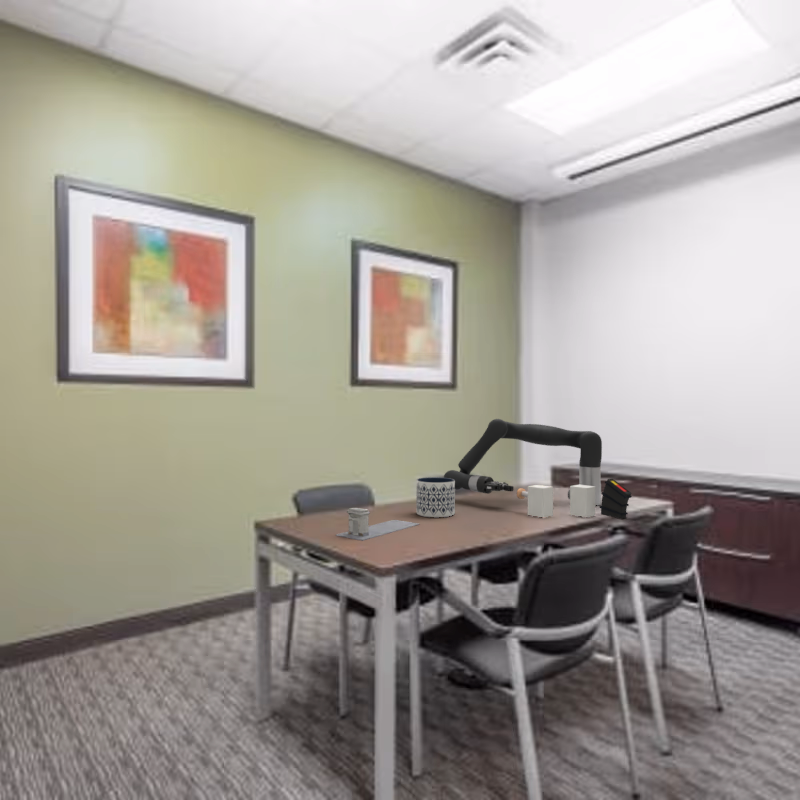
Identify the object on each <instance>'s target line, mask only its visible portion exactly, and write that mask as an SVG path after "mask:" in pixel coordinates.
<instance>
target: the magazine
mask: <svg viewBox="0 0 800 800" xmlns="http://www.w3.org/2000/svg"><path fill="white" fill-rule="evenodd" d="M604 484H605V485H604V488H603V491H601V504H600V505H599V509H600V514H601V515H603V516H608V517H612V518H617V519H626V518H627V515H628V514H629V512H628V511H627V510H628V509H627V508H628V507H629V503H628V502H629V500H630V499H631V498H632V492H631V491H630V490H628V489H627V488H625V487H624V486H623V485H622V484H620V483H619V482H617V481H616V480H615V479H613V478H607V480H605V481H604Z"/></svg>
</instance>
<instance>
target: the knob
mask: <svg viewBox="0 0 800 800" xmlns="http://www.w3.org/2000/svg"><path fill="white" fill-rule="evenodd" d="M516 497H517V498H518V499H519V500H524V499H526V498H528V490H526V489H525V488H522V487H521V488H518V489H517V490H516Z"/></svg>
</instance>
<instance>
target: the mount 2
mask: <svg viewBox="0 0 800 800" xmlns="http://www.w3.org/2000/svg"><path fill="white" fill-rule="evenodd" d="M569 490H570V499H569V516H572V515H575V516H574V517H578V516H582V517H581V518H584V517H588V518H591V517H590V516H592V517H595V516H596V506H595V486H587V485H579V484H574V485H570V486H569ZM594 515H595V516H594Z"/></svg>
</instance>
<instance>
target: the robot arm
mask: <svg viewBox="0 0 800 800" xmlns="http://www.w3.org/2000/svg"><path fill="white" fill-rule="evenodd" d="M500 439H509V440H518V441H522V442H525V443H526V442H527V443H528V444H529V443H530V444H533V445H541V446H550V447H551V446H552V447H559V446H561V447H564V446H565V447H573V448H577V449H580V456H579V457H580V458H579V467H578V468H579V469H578V470H579V473H578V474H579V481H578V482H579V484H578V485H587V486H595V507H596V505H597V506H600V505H601V502H602V494H601V493H602V483H601V479H602V478H601V475H602V474H601V471H602V470H601V465H602V464H601V463H602V457H603V456H602V453H603V451H602V450H603V441H602V437H601V436H600V435H599V434H598V433H597V432H595V431H592V430H583V431H582V430H569V429H565V428H561V427H557V426H551V425H547V424H539V423H538V424H537V423H521V424H520V423H515V422H509V421H505V420H503V419H500V418H495V419H492V420H491V421H489V423H488V424H487V427H486V429H485V431H484V432H483V434H482V436H481V437H480V438H479V439H478V441H477V442H476V443H475V444H473V446H472V447H471V448H470V449H469V451H468V452H467V453H466V454H465V455H464V456H463V457H462V458H461V460H460V461H459V462H458V464H457V467H458V468H459V471H458V470H454V469H451V470H447V471H446V472H444V475H443V478H450V479H454V480H455V491H456V490H460V489H464V490H467V491H472V492H476V493H482V494H491V493H492V492H504V491H505V492H514V491H515V490H514V486H513V485H509V483H507V482H506V481H505V482H501V481H497V480H496V481H494V479H493V478H492V476H488V475H480V474H479V475H478V474H476V475H475V474H471V472H472V471H473V470H474V469H475V467H477V465H478V464H479V463H480V462H481V460H482V459H483V457H484V456H485V455H486V454H487V452H488V451H489V450H490V449H492V446H493V445H495V443H497V442H499V440H500Z"/></svg>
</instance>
